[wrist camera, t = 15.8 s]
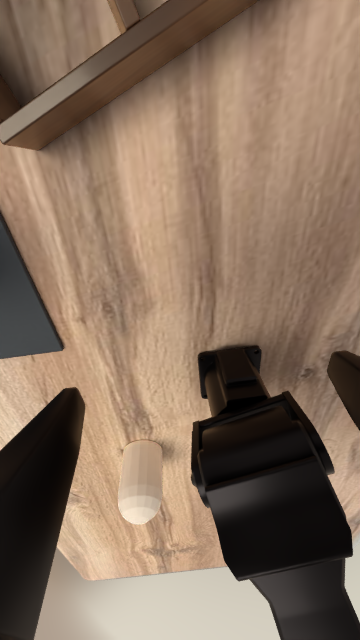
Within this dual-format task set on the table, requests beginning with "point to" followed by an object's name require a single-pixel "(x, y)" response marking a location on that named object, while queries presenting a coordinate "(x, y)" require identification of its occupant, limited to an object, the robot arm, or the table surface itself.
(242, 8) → the stand
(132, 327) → the table surface
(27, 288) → the placemat
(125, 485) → the capsule
